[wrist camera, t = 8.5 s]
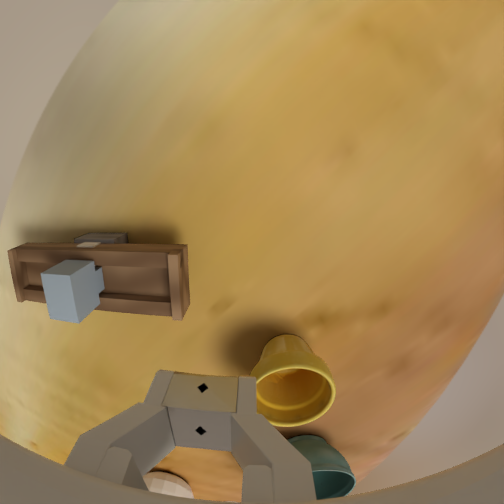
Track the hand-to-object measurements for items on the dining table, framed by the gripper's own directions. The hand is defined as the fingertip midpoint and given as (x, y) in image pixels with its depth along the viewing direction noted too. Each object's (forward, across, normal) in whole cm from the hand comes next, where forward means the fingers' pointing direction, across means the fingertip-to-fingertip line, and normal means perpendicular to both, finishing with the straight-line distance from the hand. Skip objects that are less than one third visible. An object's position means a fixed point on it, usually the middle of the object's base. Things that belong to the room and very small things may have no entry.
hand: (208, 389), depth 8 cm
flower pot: (+28, -12, +41) cm, 51 cm away
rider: (+22, +18, +5) cm, 28 cm away
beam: (+28, +18, +6) cm, 34 cm away
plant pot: (+28, -6, +18) cm, 34 cm away
